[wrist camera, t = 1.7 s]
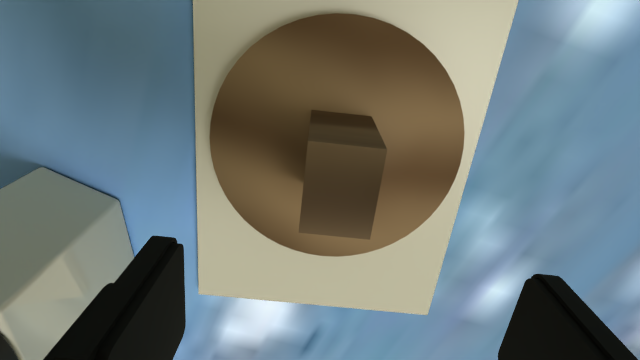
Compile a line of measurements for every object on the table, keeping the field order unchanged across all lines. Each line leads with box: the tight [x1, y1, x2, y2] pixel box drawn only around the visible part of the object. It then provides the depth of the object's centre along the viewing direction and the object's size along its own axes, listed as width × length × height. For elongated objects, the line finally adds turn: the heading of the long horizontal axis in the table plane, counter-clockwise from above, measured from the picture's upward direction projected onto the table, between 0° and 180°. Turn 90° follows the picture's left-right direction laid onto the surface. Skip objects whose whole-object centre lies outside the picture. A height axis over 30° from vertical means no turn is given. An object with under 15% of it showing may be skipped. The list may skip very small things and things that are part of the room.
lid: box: [209, 13, 465, 257], centre depth 18 cm, size 13×13×6 cm
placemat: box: [193, 0, 518, 315], centre depth 21 cm, size 20×15×1 cm
